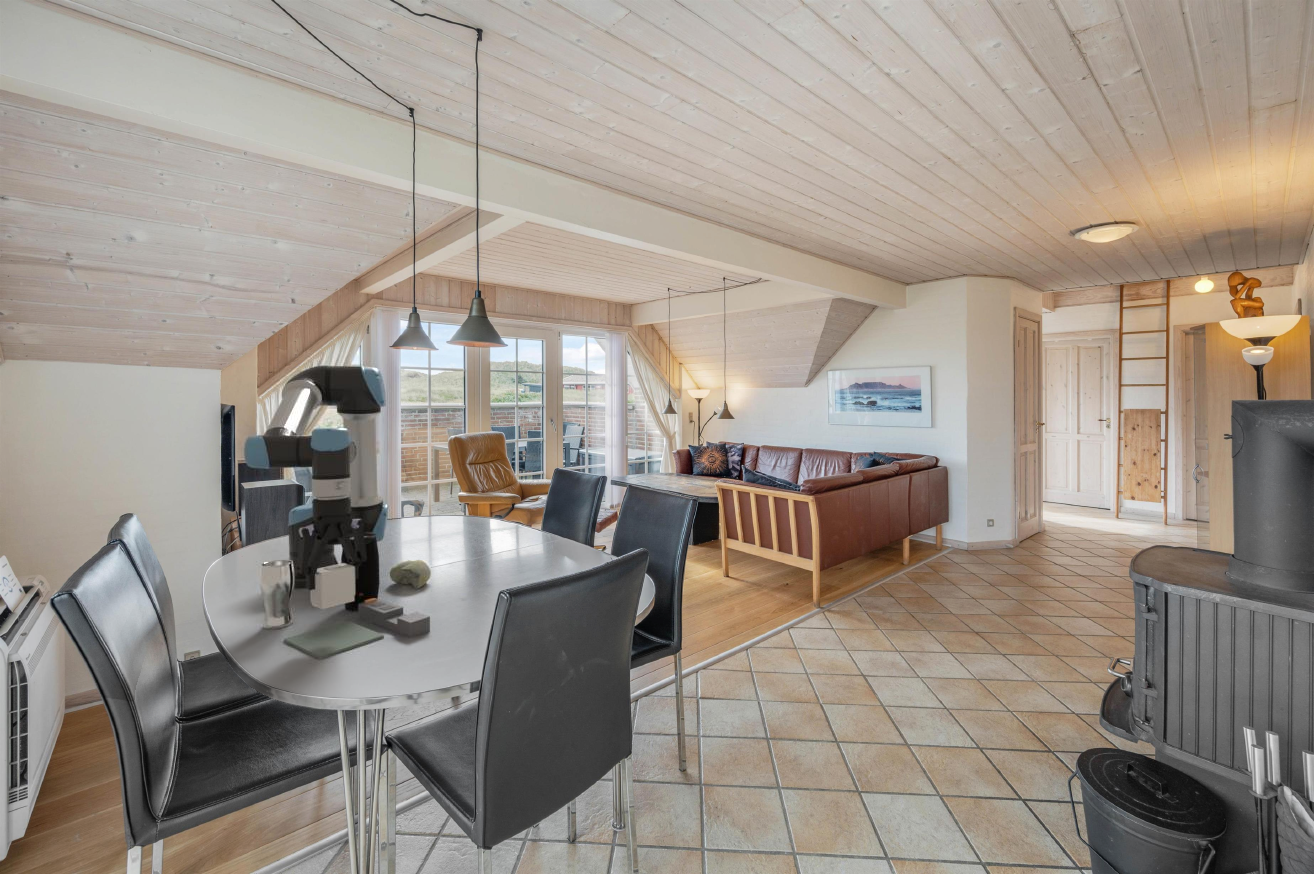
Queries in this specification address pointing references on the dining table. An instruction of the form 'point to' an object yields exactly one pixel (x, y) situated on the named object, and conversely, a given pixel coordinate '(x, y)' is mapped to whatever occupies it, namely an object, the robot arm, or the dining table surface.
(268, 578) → the beer glass
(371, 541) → the portable speaker
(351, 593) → the block
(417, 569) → the seashell
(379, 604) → the power strip
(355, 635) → the mat
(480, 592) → the dining table surface
